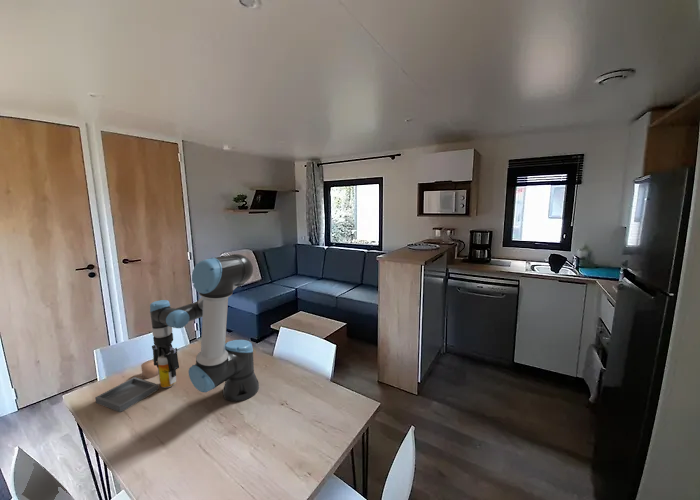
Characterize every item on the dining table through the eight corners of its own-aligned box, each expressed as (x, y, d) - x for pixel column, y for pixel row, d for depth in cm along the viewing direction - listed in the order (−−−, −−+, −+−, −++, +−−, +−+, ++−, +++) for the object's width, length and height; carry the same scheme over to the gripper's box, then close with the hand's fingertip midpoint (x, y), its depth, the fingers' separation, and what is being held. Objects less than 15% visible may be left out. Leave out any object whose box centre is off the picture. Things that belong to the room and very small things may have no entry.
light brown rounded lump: (162, 372, 147) (161, 361, 146) (148, 380, 141) (147, 368, 140) (153, 369, 150) (152, 358, 149) (139, 377, 143) (137, 365, 142)
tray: (158, 389, 133) (157, 384, 133) (120, 412, 119) (119, 406, 118) (135, 382, 139) (134, 376, 139) (96, 402, 124) (95, 397, 124)
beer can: (170, 389, 134) (167, 358, 131) (157, 388, 134) (154, 358, 131) (178, 381, 140) (175, 351, 137) (166, 381, 140) (163, 351, 137)
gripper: (185, 334, 133) (189, 381, 136) (156, 328, 140) (161, 372, 143) (170, 341, 126) (175, 390, 129) (140, 334, 133) (146, 381, 136)
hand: (168, 381), depth 136 cm, fingers closed on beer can, 6 cm apart
